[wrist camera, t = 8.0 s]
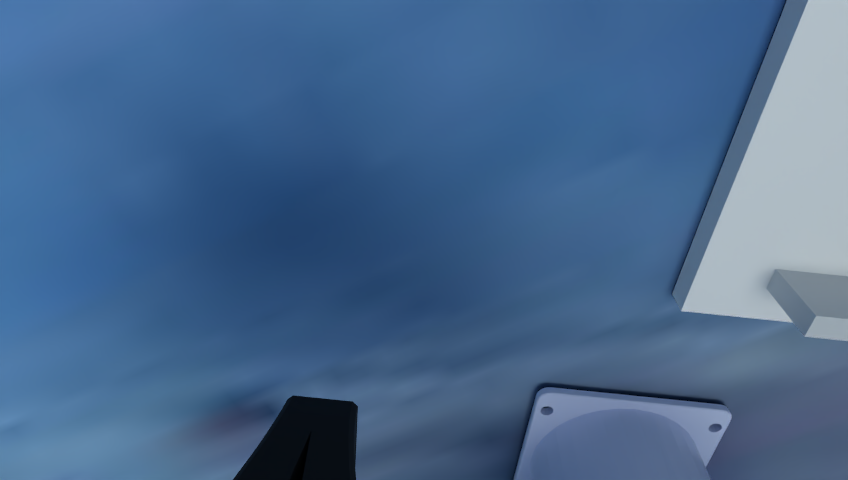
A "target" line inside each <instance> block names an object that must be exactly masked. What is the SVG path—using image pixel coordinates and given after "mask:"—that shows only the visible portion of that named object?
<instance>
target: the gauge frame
mask: <svg viewBox="0 0 848 480" xmlns="http://www.w3.org/2000/svg"><path fill="white" fill-rule="evenodd" d="M672 295H673V297H674V299H675V301H676V302H677V304H678V306H679V308H680V310H681V311H687V312H696V313H706V314H716V315H726V316H736V317H745V318H755V319H765V320H775V321H784V322H793V323H794V324H795V325H796V326H797V328H798V329H799V330H800V331H801V333H802V334H803V335H804V337H814V338H823V339H833V340H843V341H848V0H787V1H786V4H785V6H784V9H783V11H782V14H781V17H780V19H779V22H778V24H777V27H776V29H775V32H774V34H773V37H772V40H771V42H770V45H769V47H768V50H767V52H766V55H765V58H764V60H763V63H762V65H761V68H760V70H759V73H758V75H757V78H756V81H755V83H754V86H753V88H752V91H751V93H750V96H749V98H748V101H747V104H746V106H745V109H744V111H743V114H742V116H741V119H740V121H739V124H738V127H737V129H736V132H735V134H734V137H733V139H732V142H731V144H730V147H729V150H728V152H727V155H726V157H725V160H724V162H723V165H722V167H721V170H720V173H719V175H718V178H717V180H716V183H715V185H714V188H713V191H712V193H711V196H710V198H709V201H708V203H707V206H706V208H705V211H704V214H703V216H702V219H701V221H700V224H699V226H698V229H697V231H696V234H695V237H694V239H693V242H692V244H691V247H690V249H689V252H688V254H687V257H686V260H685V262H684V265H683V267H682V270H681V272H680V275H679V277H678V280H677V283H676V285H675V288H674V290H673V293H672Z"/></svg>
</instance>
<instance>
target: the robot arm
mask: <svg viewBox="0 0 848 480" xmlns="http://www.w3.org/2000/svg"><path fill="white" fill-rule="evenodd" d="M546 406H549V407H548V408H543V407H546ZM357 413H358V406H357V405H356V404H355V403H354V402H351V401H341V400H331V399H322V398H312V397H302V396H292V397H290V398H289V399H288V400H287V401H286V403H285V405H284V407H283V408H282V410H281V412H280V413H279V415H278V417H277V418H276V420H275V421H274V423H273V424H272V426H271V428H270V429H269V431H268V432H267V434H266V435H265V436H264V438H263V439H262V441H261V442H260V444H259V445H258V447H257V448H256V449H255V451H254V452H253V454H252V455H251V456H250V458H249V459H248V460H247V462H246V463H245V464H244V466H243V467H242V468H241V470H240V471H239V472H238V474H237V475H236V476H235V478H234V479H233V480H356V474H355V460H356V437H357ZM731 418H732V415H731V413H730V411H729V409H728V408H727V407H726V406H724V405H721V404H711V403H701V402H691V401H681V400H672V399H662V398H652V397H642V396H632V395H622V394H612V393H603V392H593V391H583V390H573V389H563V388H553V387H546V388H543V389H541V390H539V391H538V392H537V394H536V397H535V401H534V405H533V408H532V412H531V416H530V420H529V423H528V427H527V431H526V434H525V438H524V442H523V446H522V449H521V453H520V457H519V461H518V464H517V468H516V472H515V475H514V479H513V480H711V478H710V476H709V474H708V472H707V469H706V466H707V464H708V462H709V460H710V458H711V457H712V455H713V453H714V451H715V449H716V447H717V445H718V443H719V442H720V440H721V438H722V436H723V434H724V432H725V430H726V428H727V427H728V425H729V423H730V421H731Z"/></svg>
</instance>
